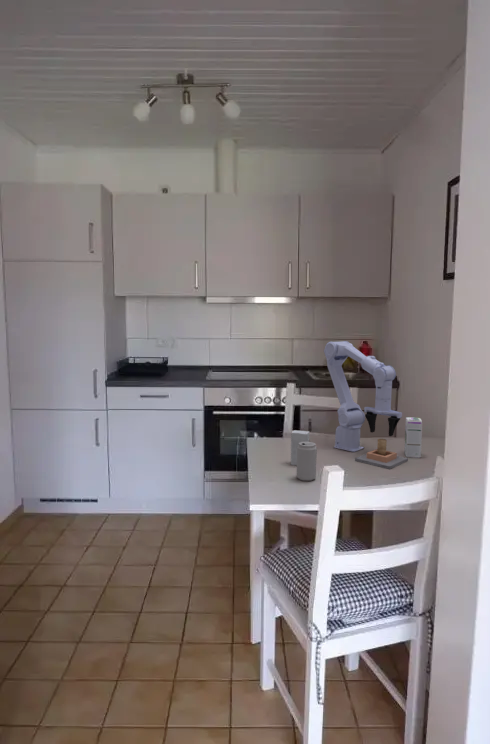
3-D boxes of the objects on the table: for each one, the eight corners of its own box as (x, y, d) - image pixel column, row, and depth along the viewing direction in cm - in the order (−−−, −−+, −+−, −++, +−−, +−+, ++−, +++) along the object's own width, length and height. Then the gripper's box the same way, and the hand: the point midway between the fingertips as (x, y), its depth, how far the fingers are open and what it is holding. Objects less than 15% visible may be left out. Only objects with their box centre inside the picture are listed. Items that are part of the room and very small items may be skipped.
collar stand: (355, 460, 190) (355, 452, 190) (374, 453, 201) (374, 445, 200) (389, 469, 181) (390, 460, 181) (407, 460, 191) (408, 453, 191)
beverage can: (294, 475, 173) (295, 441, 171) (313, 475, 174) (314, 440, 172) (298, 482, 167) (299, 446, 165) (317, 481, 167) (318, 445, 166)
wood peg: (375, 458, 191) (376, 439, 190) (379, 456, 193) (380, 438, 192) (383, 459, 188) (383, 441, 187) (387, 458, 191) (388, 439, 190)
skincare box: (309, 463, 187) (310, 431, 185) (306, 466, 183) (307, 434, 181) (293, 461, 189) (293, 429, 187) (290, 464, 185) (290, 432, 183)
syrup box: (421, 458, 195) (423, 420, 193) (405, 457, 196) (407, 419, 194) (419, 453, 200) (421, 417, 198) (403, 452, 202) (405, 416, 200)
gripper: (360, 397, 193) (359, 432, 195) (396, 402, 183) (394, 439, 185) (370, 394, 198) (368, 429, 200) (405, 399, 189) (403, 435, 190)
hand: (381, 433), depth 193 cm, fingers open, 7 cm apart
